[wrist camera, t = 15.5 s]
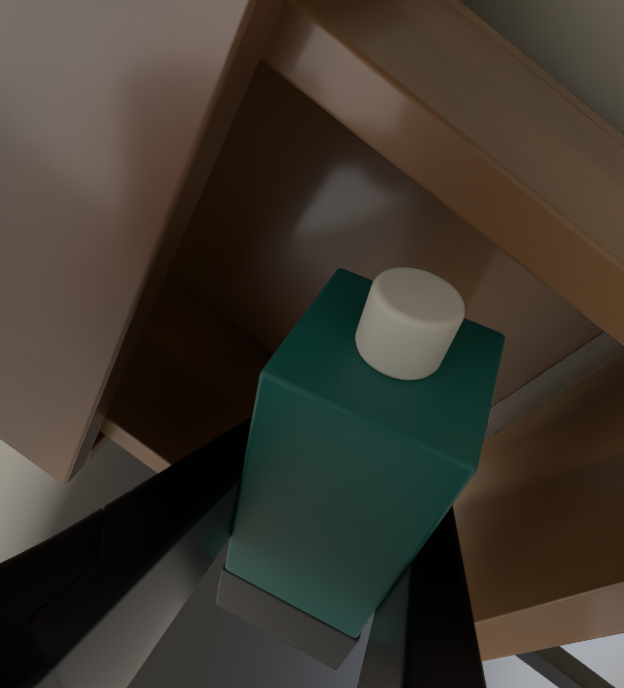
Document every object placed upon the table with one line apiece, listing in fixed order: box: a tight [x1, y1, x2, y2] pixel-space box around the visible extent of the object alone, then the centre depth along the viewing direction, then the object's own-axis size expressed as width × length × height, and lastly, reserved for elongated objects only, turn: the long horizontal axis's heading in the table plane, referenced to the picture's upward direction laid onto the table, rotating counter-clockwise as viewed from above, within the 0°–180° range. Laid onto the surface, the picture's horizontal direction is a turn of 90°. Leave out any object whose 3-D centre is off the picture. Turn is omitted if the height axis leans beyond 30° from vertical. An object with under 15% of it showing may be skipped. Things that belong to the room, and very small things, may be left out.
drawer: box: [99, 0, 624, 688], centre depth 12 cm, size 18×12×6 cm
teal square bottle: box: [216, 267, 505, 670], centre depth 9 cm, size 8×3×3 cm, turn 167°
